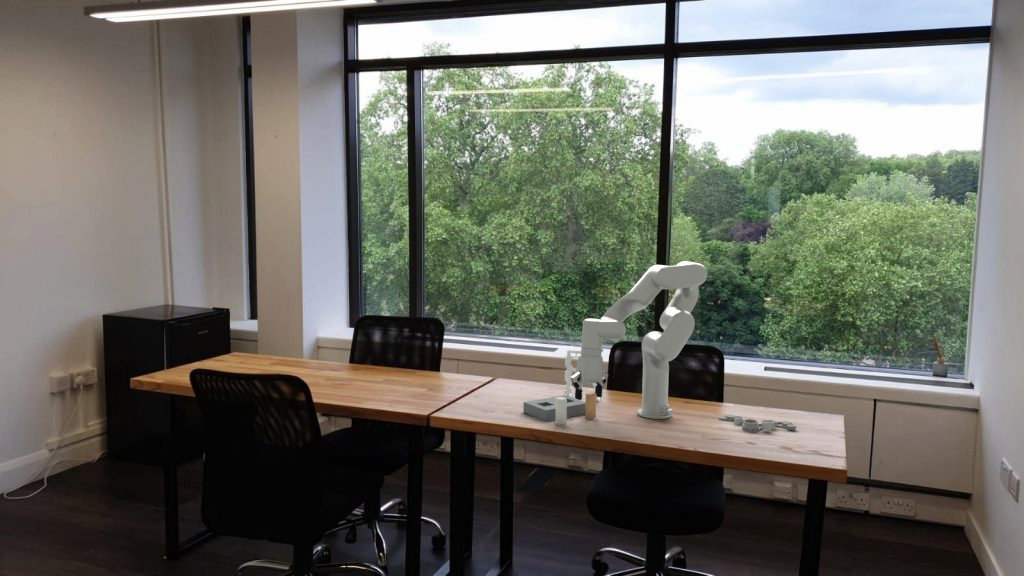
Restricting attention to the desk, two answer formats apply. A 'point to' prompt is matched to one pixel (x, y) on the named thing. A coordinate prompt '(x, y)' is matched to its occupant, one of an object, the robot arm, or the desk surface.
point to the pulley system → (753, 425)
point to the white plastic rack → (568, 375)
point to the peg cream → (561, 411)
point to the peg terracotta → (590, 405)
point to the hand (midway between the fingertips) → (588, 398)
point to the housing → (552, 407)
